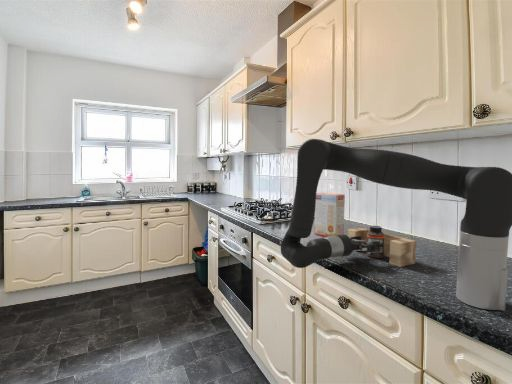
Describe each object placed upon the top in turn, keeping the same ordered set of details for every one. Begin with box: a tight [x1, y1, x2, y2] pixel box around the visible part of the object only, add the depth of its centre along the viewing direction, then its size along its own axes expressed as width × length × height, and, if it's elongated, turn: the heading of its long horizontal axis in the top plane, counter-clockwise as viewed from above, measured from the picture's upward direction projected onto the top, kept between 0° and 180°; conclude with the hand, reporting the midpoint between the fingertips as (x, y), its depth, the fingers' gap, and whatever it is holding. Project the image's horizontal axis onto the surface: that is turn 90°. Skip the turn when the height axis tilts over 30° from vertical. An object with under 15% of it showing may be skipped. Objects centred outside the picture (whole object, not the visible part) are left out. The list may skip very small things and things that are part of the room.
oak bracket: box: [347, 227, 417, 268], centre depth 106 cm, size 8×24×8 cm, turn 26°
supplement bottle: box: [365, 225, 384, 259], centre depth 105 cm, size 6×6×11 cm
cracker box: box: [314, 192, 346, 238], centre depth 135 cm, size 14×6×21 cm, turn 32°
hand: (369, 241), depth 104 cm, fingers open, 8 cm apart
